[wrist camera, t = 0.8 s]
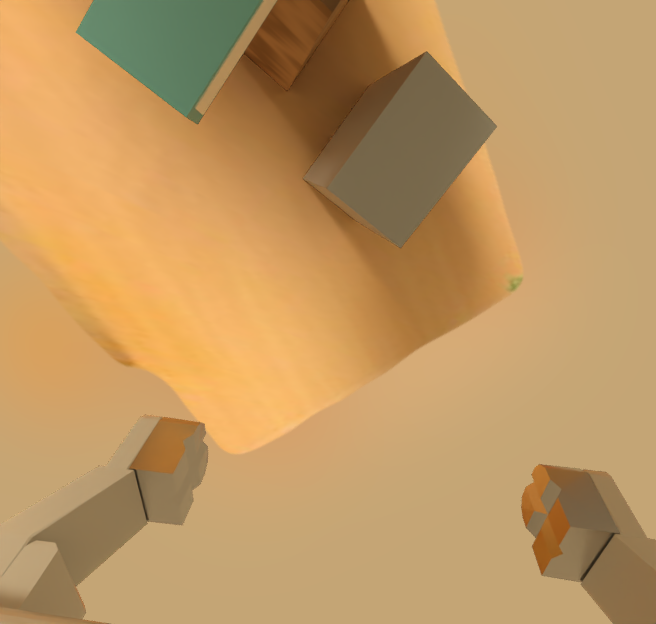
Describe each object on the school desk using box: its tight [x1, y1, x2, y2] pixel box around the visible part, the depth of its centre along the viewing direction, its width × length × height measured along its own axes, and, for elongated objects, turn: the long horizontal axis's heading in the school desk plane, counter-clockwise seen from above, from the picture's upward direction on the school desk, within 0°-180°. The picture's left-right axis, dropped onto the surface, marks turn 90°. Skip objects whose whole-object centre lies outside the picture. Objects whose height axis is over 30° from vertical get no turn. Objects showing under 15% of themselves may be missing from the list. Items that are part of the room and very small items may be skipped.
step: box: [303, 51, 497, 248], centre depth 40 cm, size 8×12×16 cm, turn 142°
